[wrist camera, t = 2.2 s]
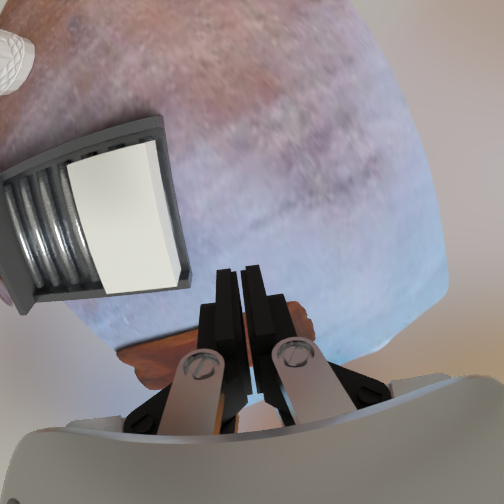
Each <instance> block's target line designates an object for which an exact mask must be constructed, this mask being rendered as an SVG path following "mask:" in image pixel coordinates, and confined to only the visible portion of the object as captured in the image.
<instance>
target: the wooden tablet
mask: <svg viewBox="0 0 504 504" xmlns="http://www.w3.org/2000/svg"><path fill="white" fill-rule="evenodd" d="M286 303H287V306H288V309H289V312H290V315H291V318H292V321H293V324H294V327H295V330H296V333H297V336H298V337H303V338H307V339H309V340H311V341H314V340H315V332H314V329H313V323H312V321H311V319H308V318H307V313H306V311H305V309H304V308H303V307H302V306H301V305H300V304H299V303H298V302H296V301H290V302H286ZM243 319H244V326H245V334H246V342H247V351H248V360H249V367H252V366H253V363H252V357H251V350H250V344H249V337H248V329H247V321H246V313H243ZM197 339H198V329H195V330H191V331H188V332H185V333H181V334H177V335H173V336H169V337H166V338H162V339H158V340H154V341H150V342H145V343H140V344H137V345H133V346H129V347H126V348H123V349H121V350H119V351H117V354H116V355H117V356H118V358H119V359H120V360H121V361H122V362H124V363H126V364H128V365H131V366H133V367H134V368H135V374H136V376H137V378H138V379H139V381H140V382H141V383H142V384H143V385H144V386H145V387H146V388H148V389H150V390H160V389H164V388H165V387H166V386H168V385H169V384H170V383H172V382H173V380H174V377H175V374H176V370H177V367H178V364H179V362H180V361H181V359H182V358H183V357H184V356H185V355H186V354H188V353H190V352H191V351H194V350H197Z"/></svg>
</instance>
